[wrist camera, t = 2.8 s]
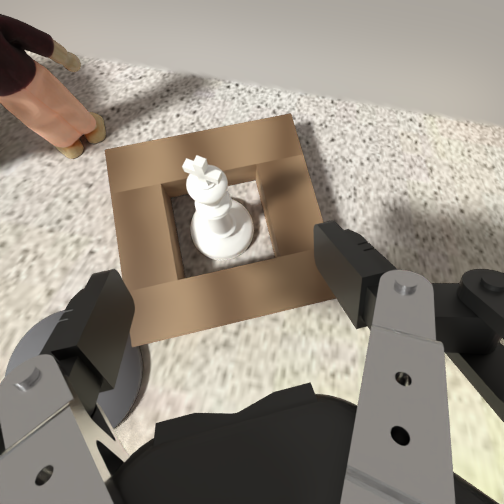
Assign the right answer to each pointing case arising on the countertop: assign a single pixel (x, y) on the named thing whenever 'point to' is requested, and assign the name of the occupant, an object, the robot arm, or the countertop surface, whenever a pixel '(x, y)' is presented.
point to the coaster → (110, 401)
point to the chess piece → (216, 213)
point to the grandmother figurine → (43, 89)
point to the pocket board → (166, 239)
